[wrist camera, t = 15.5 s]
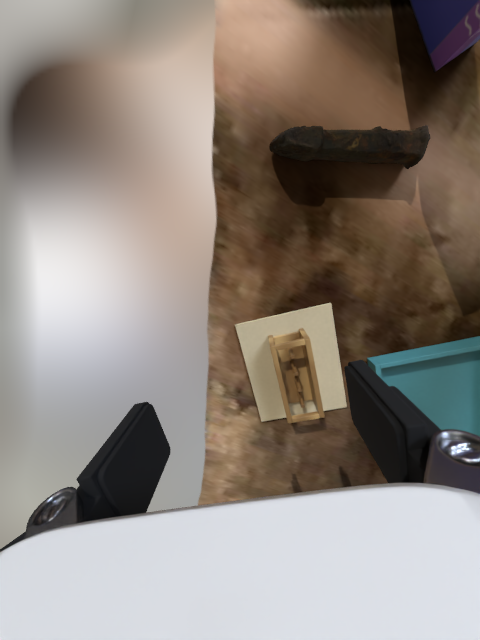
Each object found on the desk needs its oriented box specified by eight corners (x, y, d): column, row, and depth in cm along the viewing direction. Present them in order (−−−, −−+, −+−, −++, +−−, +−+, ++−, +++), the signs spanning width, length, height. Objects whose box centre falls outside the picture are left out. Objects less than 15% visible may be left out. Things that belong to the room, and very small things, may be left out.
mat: (330, 302, 37) (331, 303, 37) (345, 405, 43) (346, 407, 42) (235, 324, 39) (235, 325, 39) (261, 420, 45) (261, 421, 44)
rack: (303, 327, 38) (310, 338, 34) (316, 398, 42) (324, 417, 37) (267, 335, 39) (269, 347, 34) (284, 404, 43) (287, 423, 38)
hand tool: (414, 137, 31) (441, 117, 26) (406, 171, 32) (430, 158, 27) (272, 127, 31) (274, 106, 27) (268, 161, 32) (270, 146, 28)
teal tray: (492, 333, 37) (510, 339, 35) (487, 448, 44) (502, 460, 41) (367, 358, 40) (375, 365, 37) (379, 463, 46) (387, 475, 43)
